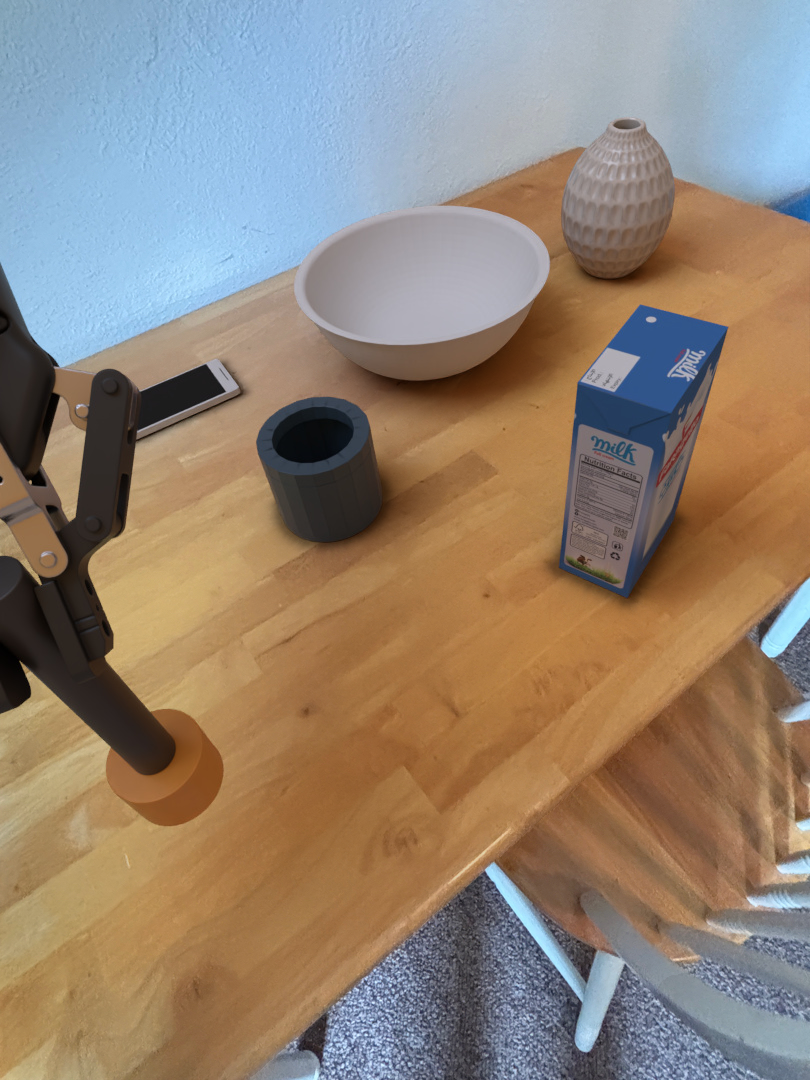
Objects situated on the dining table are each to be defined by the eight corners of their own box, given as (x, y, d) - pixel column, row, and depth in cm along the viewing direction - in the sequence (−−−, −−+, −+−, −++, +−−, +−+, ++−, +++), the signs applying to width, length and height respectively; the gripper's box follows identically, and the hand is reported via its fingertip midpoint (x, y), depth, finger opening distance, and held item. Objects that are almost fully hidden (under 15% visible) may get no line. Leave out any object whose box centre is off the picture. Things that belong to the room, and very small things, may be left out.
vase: (538, 258, 93) (545, 119, 80) (623, 230, 95) (642, 91, 82) (592, 305, 85) (609, 160, 72) (683, 274, 87) (715, 127, 74)
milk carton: (626, 599, 58) (670, 412, 43) (558, 568, 61) (576, 382, 46) (673, 519, 63) (729, 325, 48) (608, 494, 66) (640, 303, 50)
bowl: (284, 324, 89) (264, 249, 81) (478, 260, 94) (476, 183, 86) (361, 457, 72) (344, 378, 65) (592, 371, 77) (602, 288, 69)
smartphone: (95, 416, 81) (91, 409, 80) (219, 363, 85) (217, 357, 84) (112, 450, 77) (108, 444, 76) (242, 393, 81) (239, 387, 80)
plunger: (151, 846, 35) (-76, 670, 21) (122, 768, 38) (-95, 568, 24) (238, 792, 37) (77, 593, 23) (204, 720, 39) (42, 505, 26)
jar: (309, 559, 65) (286, 492, 58) (264, 495, 70) (238, 427, 63) (402, 509, 67) (390, 439, 60) (351, 452, 73) (335, 382, 66)
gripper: (-509, 229, 19) (-223, 815, 21) (22, 98, 21) (235, 637, 23) (-289, 308, 26) (-94, 734, 28) (86, 204, 28) (243, 605, 30)
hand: (53, 688), depth 25 cm, fingers closed on plunger
